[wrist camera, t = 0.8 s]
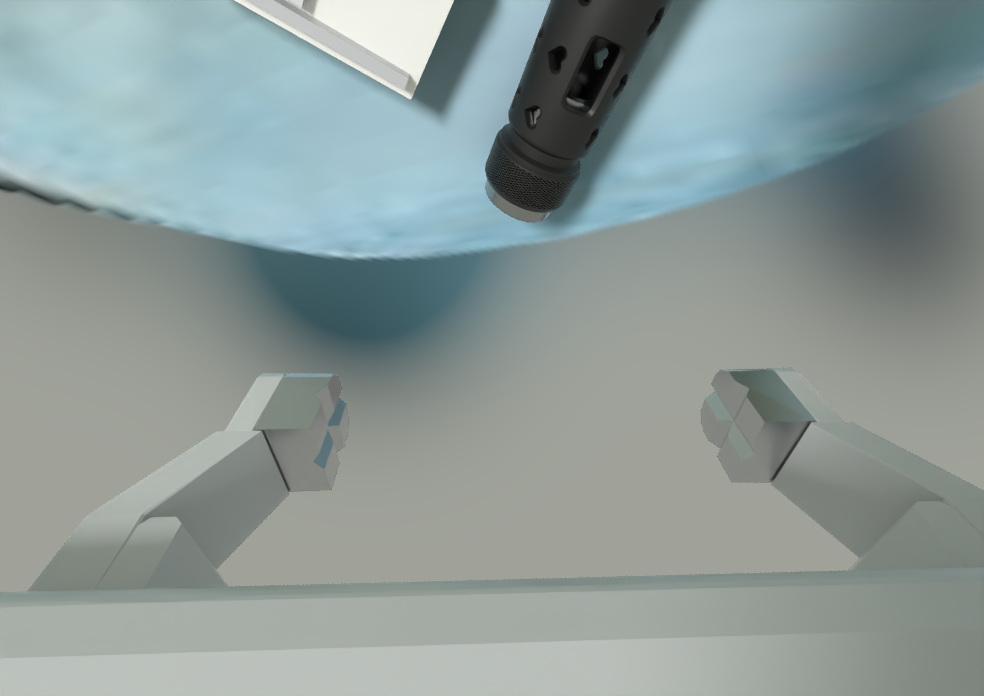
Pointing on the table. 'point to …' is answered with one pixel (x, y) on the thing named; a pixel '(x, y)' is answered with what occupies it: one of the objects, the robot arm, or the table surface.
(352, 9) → the socket box
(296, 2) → the shutter
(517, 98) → the muzzle brake
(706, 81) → the table surface
